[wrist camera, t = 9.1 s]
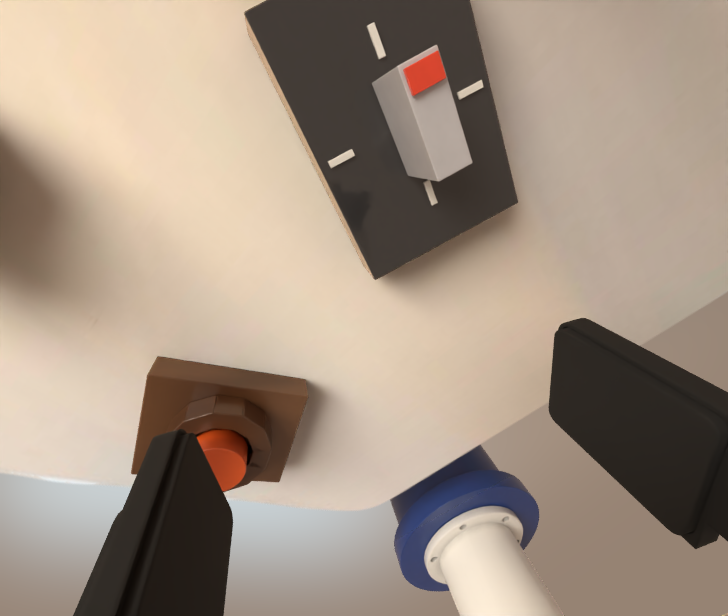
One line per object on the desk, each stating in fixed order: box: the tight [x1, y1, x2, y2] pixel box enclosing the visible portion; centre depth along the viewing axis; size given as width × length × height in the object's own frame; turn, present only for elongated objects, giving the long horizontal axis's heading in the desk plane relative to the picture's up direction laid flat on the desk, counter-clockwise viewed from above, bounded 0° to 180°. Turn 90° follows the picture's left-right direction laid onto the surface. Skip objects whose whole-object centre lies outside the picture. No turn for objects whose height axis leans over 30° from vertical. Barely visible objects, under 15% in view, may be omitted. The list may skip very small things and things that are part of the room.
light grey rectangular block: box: [372, 45, 472, 182], centre depth 17 cm, size 5×2×4 cm, turn 26°
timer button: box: [197, 429, 248, 491], centre depth 22 cm, size 4×4×2 cm
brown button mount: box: [131, 357, 308, 492], centre depth 25 cm, size 10×8×4 cm
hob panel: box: [244, 0, 518, 280], centre depth 20 cm, size 14×10×3 cm
